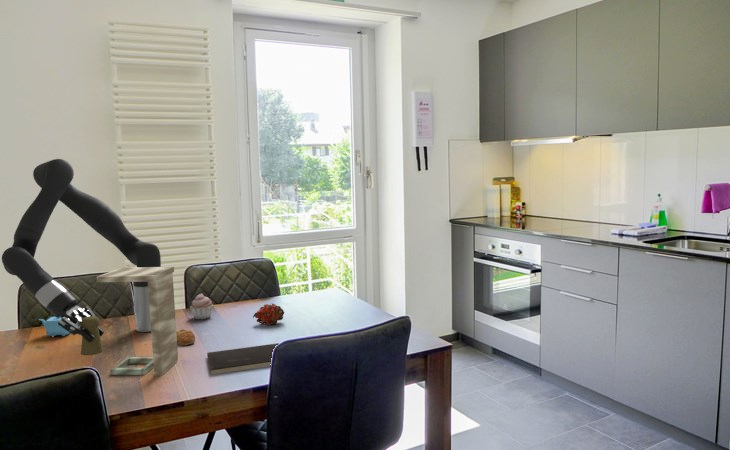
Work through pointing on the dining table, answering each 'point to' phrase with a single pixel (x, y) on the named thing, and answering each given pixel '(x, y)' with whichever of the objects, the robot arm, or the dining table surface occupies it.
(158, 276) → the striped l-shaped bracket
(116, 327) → the dining table surface
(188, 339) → the pastry
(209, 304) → the cupcake
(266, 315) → the dragon fruit
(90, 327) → the olive brown pepper mill
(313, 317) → the dining table surface
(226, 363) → the hardcover book
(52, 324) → the teapot
